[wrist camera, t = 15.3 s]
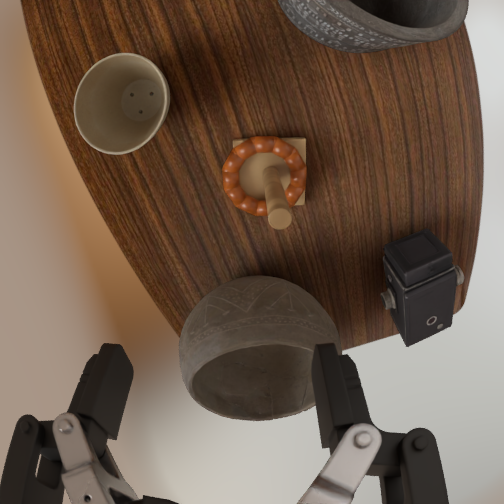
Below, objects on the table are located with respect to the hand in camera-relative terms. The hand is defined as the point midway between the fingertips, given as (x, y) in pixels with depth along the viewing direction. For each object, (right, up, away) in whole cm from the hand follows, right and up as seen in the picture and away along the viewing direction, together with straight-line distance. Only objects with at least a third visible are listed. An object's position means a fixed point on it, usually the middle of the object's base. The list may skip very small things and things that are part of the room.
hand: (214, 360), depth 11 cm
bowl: (+2, -4, +33) cm, 33 cm away
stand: (+4, +14, +22) cm, 26 cm away
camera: (+24, +3, +29) cm, 38 cm away
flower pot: (-11, +22, +17) cm, 30 cm away
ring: (+3, +12, +20) cm, 24 cm away
